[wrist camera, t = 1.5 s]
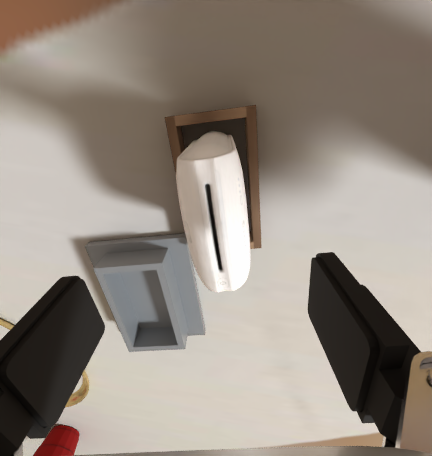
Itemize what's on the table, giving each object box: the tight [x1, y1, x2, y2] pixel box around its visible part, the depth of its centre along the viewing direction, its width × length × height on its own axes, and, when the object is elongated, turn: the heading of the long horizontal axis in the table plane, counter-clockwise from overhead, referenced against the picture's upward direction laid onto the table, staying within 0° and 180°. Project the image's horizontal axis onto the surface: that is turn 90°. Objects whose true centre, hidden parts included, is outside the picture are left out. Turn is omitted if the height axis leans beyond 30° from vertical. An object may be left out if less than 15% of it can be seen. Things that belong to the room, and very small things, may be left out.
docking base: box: [85, 233, 205, 352], centre depth 29 cm, size 12×16×4 cm
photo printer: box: [176, 131, 250, 292], centre depth 19 cm, size 10×4×12 cm, turn 8°
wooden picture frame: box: [165, 105, 261, 249], centre depth 23 cm, size 8×14×2 cm, turn 7°
